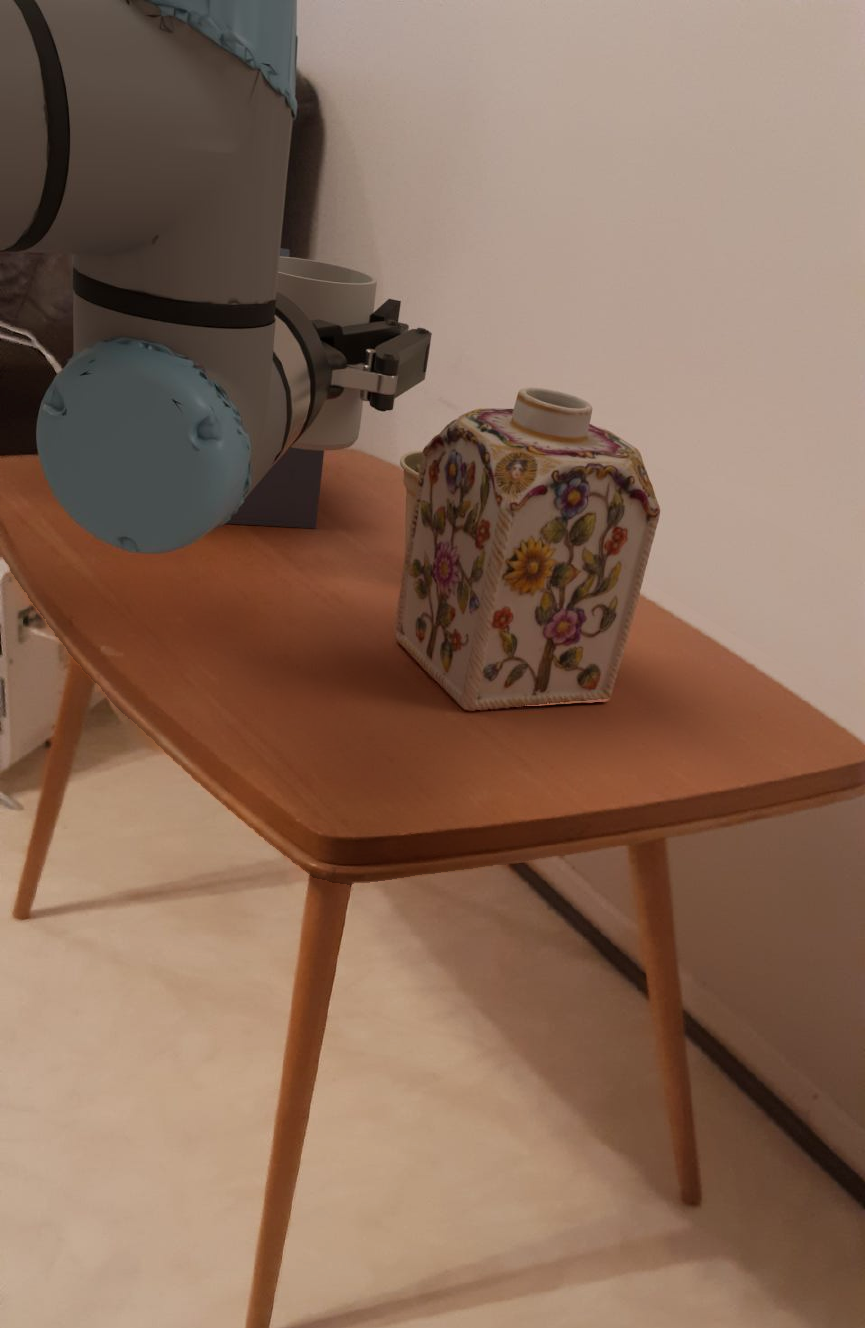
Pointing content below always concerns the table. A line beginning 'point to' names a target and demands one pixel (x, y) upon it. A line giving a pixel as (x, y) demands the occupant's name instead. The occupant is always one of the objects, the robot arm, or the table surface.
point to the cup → (338, 302)
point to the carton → (285, 493)
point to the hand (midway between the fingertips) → (328, 310)
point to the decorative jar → (525, 554)
